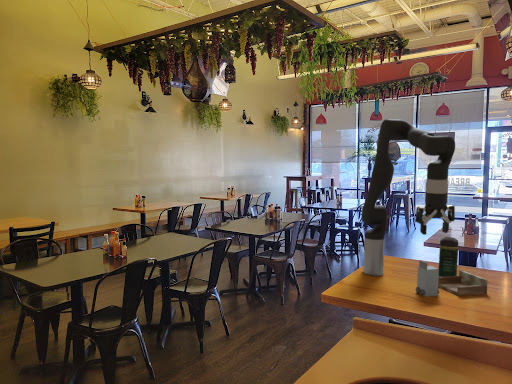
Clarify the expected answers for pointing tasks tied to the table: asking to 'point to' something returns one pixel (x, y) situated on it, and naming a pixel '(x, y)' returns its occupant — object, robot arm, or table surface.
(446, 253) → the coffee jar
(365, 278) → the table surface
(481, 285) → the tray
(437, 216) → the robot arm
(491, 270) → the table surface
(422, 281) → the grey upright block
